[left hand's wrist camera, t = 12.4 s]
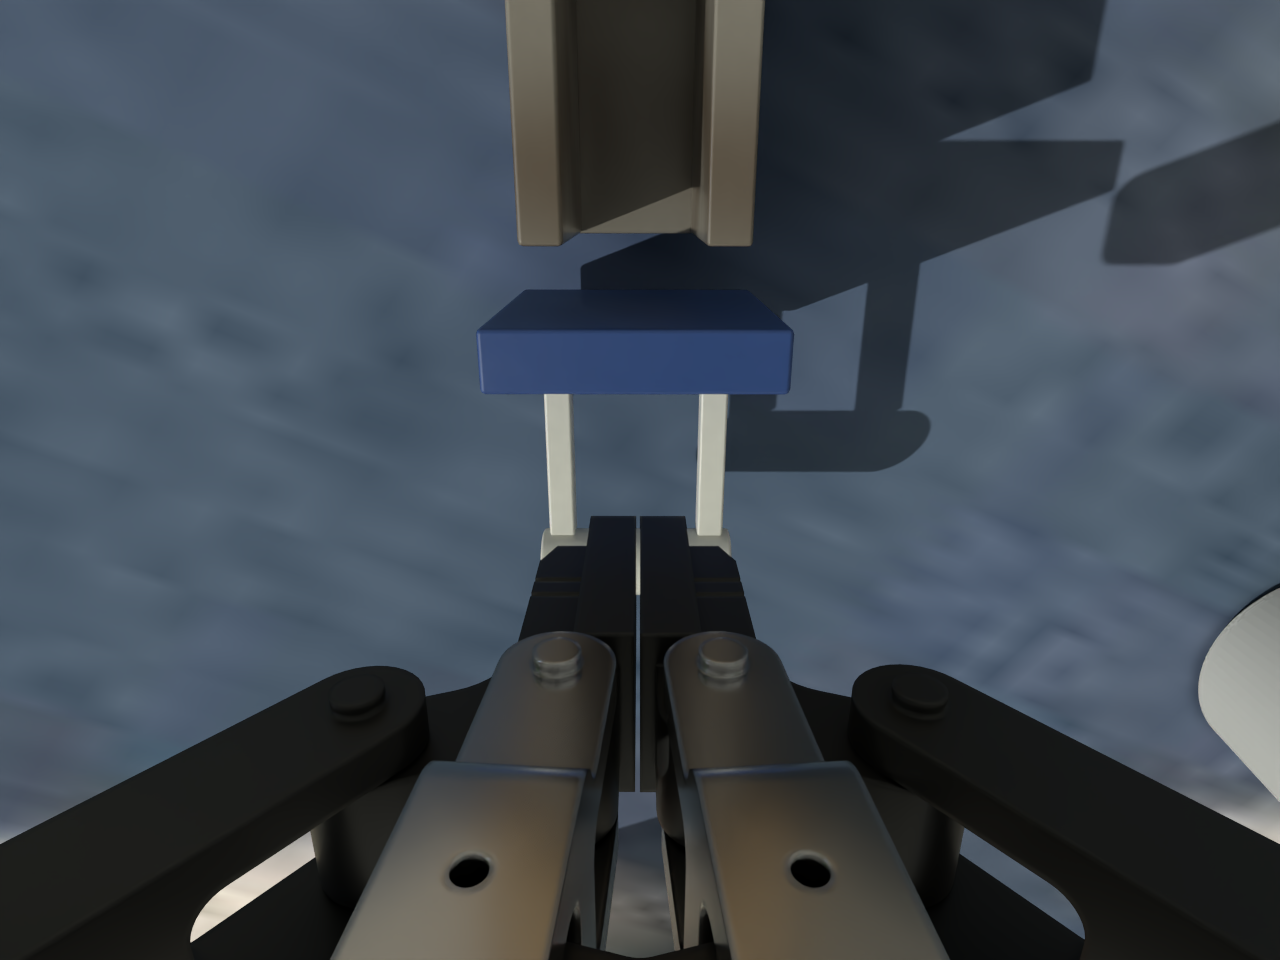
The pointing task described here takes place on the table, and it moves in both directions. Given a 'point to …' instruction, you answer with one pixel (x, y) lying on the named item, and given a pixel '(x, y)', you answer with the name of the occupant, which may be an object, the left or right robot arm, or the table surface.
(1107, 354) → the table surface
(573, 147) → the drawer
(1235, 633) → the coffee cup
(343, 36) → the table surface
